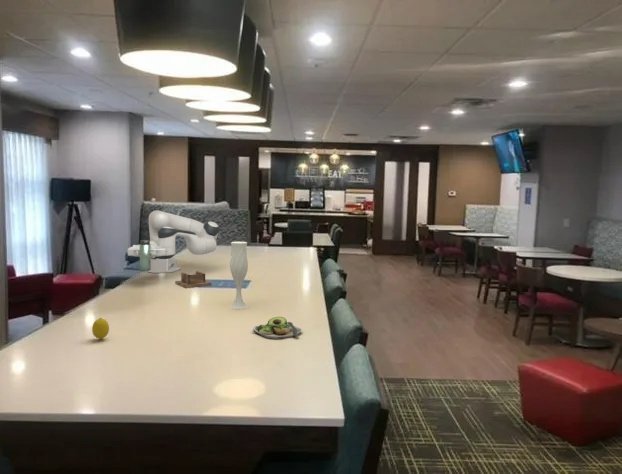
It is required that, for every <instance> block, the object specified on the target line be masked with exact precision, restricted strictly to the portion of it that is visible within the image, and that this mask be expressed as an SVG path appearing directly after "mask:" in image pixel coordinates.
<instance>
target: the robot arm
mask: <svg viewBox="0 0 622 474" xmlns="http://www.w3.org/2000/svg"><path fill="white" fill-rule="evenodd" d="M220 227H221V226H219V224H218V223H216V222H215V221H210V220H209V221H206V222H205V223H203V222H201V221H199V220H196V219H193V218H189V217H185V216H182V215H177V214H173V213H170V212H166V211H161V210H159V209H158V210H156V209H155V210H153V211H151V212H150V213H149V215H148V229H149V240H150V244H151V252H150V255H151V270H150V271H147V272H148V273H152V274H153V273H155V274H161V273H163V274H165V273H174V272H177V271H179V270H182V267H180V266H178V260H177V259H176V258H174V257H175V255H176V237H181V238H184V241H185V244H186V248H187V250H188V252H189V253H191V254H193V255H196V256H198V255H199V256H200V255H202V256H203V255H208V254H210V253H213V252H214V251H216V249H217V246H218V245H217V238H218V235H219V233H220ZM127 256H129V257H137V258H140V243H139V244H133V245H132V246H130V247H128V248H127Z"/></svg>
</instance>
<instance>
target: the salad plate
mask: <svg viewBox="0 0 622 474" xmlns="http://www.w3.org/2000/svg"><path fill="white" fill-rule="evenodd" d="M252 331H253V332H254V333H255V334H256V335H259V336H261V337H264V338H268V339H273V340H282V339H287V338H294V337H297V336H299V334H300V333H301V332H302V327H301V328H300V327H298V326H295V325H294V324H293V322H291V321H287V318H285V317H283V316H276V317H272V318H269V320H268V321H267V323H266V324H261V325H260V324H259V325H255V326H253V329H252Z"/></svg>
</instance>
